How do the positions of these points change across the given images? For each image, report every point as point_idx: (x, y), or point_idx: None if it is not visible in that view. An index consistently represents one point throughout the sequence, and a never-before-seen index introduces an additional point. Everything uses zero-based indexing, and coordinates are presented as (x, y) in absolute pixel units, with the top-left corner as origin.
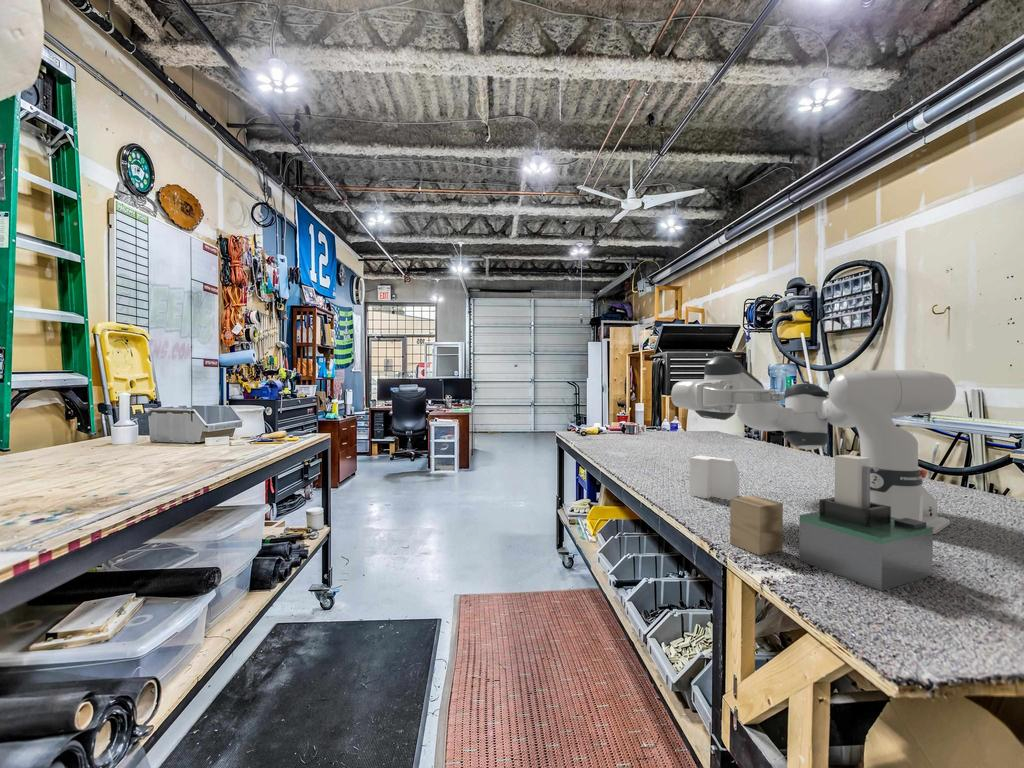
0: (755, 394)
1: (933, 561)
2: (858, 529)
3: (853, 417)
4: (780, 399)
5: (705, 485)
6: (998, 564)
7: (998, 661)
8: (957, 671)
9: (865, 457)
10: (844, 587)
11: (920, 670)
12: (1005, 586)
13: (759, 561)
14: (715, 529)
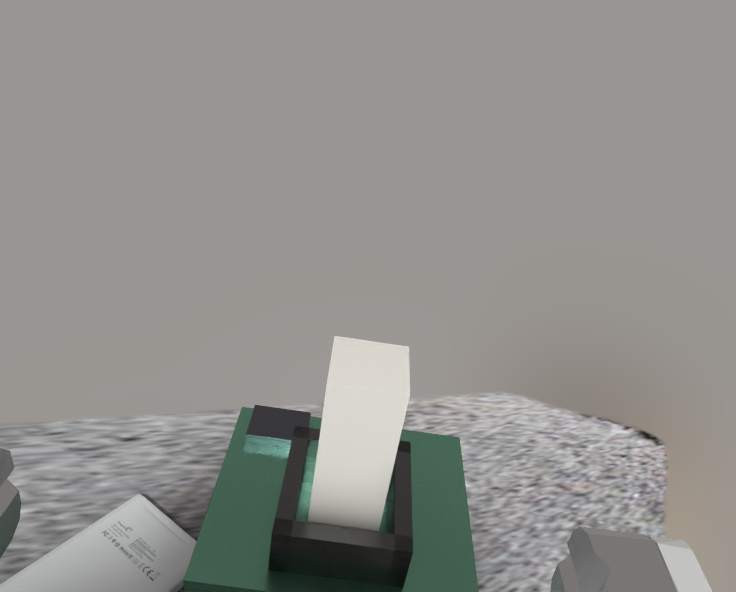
0: (595, 532)
1: (147, 501)
2: (443, 479)
3: None
4: (8, 497)
5: None
6: (14, 441)
7: (502, 401)
8: (574, 418)
9: (340, 343)
10: (492, 563)
11: (617, 436)
12: (182, 421)
13: None
14: None
